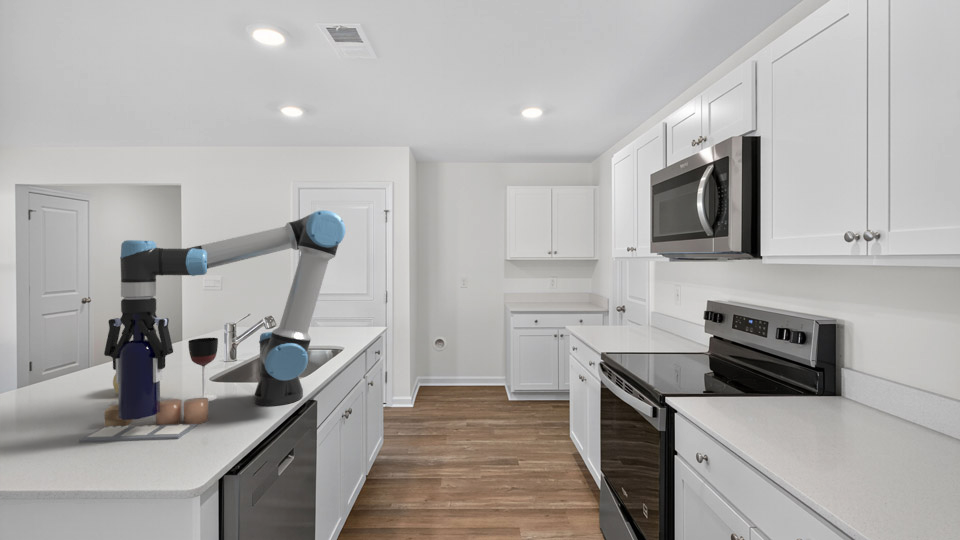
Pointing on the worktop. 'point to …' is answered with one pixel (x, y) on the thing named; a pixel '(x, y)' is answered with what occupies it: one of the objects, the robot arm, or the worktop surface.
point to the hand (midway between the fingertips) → (139, 381)
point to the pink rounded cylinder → (169, 412)
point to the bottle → (137, 378)
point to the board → (138, 432)
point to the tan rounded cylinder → (195, 411)
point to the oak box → (114, 417)
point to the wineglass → (203, 356)
